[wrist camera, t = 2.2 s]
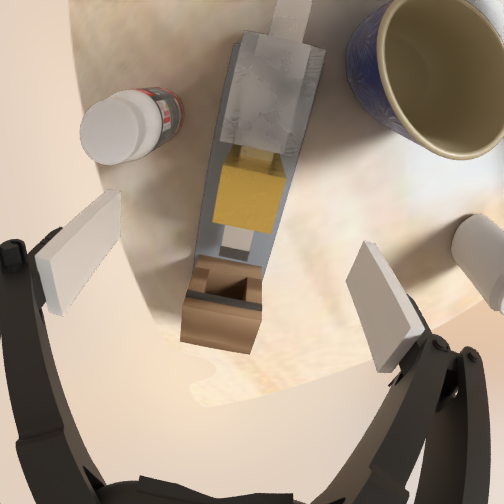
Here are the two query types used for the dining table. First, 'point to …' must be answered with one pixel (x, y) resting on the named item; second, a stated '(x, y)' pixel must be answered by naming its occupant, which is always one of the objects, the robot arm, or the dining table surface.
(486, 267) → the can
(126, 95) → the pill bottle
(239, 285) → the socket
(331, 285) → the dining table surface
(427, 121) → the planter
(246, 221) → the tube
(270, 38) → the sleeve
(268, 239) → the board
